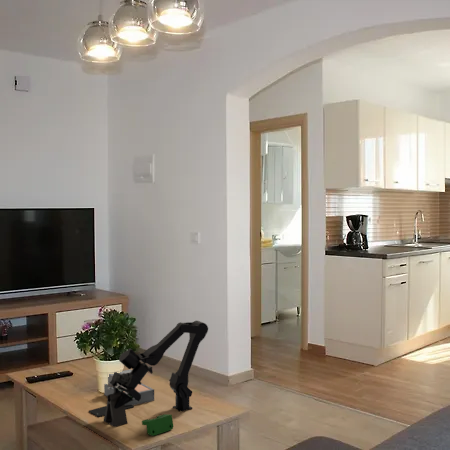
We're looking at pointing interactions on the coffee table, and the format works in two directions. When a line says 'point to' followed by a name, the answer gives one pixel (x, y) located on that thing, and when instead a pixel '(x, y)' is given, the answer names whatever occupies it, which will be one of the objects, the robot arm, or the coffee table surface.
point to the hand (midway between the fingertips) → (112, 407)
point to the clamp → (158, 424)
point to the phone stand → (115, 411)
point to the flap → (139, 387)
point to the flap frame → (145, 397)
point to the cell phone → (101, 411)
